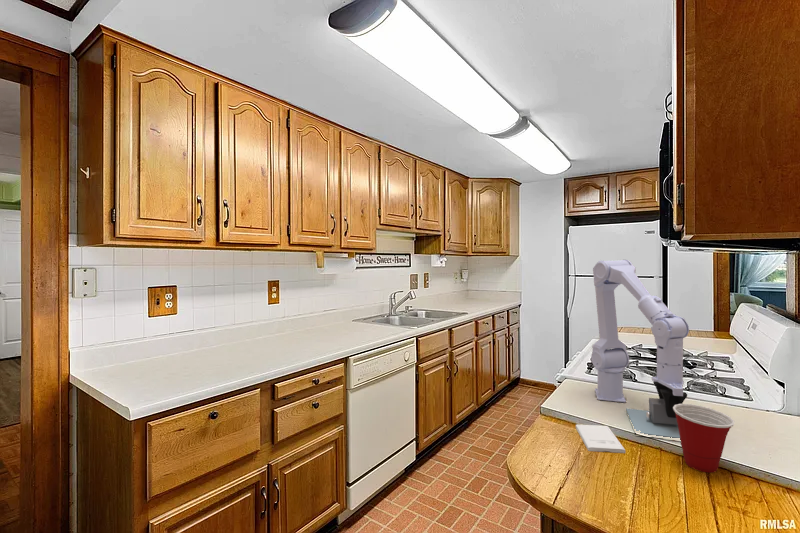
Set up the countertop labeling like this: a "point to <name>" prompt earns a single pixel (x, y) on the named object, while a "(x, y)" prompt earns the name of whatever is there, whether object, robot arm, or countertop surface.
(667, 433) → the tray
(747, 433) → the countertop surface
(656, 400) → the gray rectangular block
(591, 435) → the external hard drive
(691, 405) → the plastic cup
